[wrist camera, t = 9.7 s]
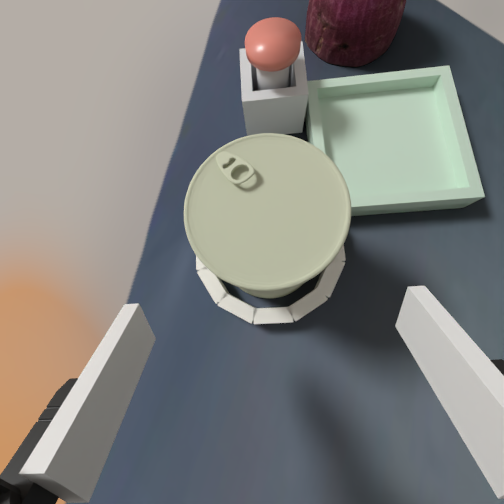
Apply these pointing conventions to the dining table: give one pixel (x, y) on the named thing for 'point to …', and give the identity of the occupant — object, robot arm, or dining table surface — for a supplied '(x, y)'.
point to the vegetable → (352, 29)
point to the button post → (274, 100)
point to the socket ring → (278, 313)
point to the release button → (272, 51)
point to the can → (267, 213)
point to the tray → (395, 140)
